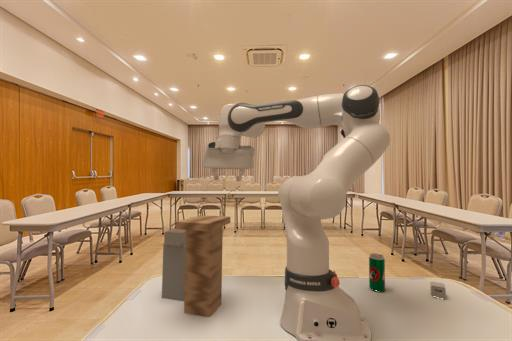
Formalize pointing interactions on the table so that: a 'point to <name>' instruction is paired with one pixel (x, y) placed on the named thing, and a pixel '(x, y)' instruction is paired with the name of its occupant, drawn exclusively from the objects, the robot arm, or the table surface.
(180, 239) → the link bar
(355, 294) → the table surface
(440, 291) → the usb wall charger
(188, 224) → the brown wooden post
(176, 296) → the pedestal
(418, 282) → the table surface
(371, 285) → the soda can
